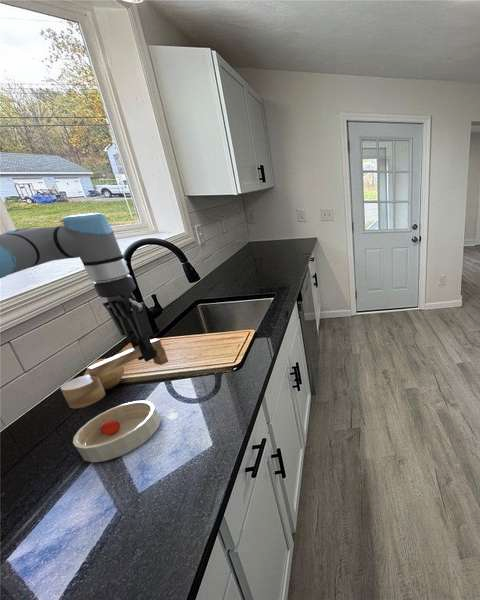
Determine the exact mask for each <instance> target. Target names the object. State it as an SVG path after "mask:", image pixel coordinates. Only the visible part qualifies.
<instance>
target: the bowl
mask: <svg viewBox="0 0 480 600" xmlns="http://www.w3.org/2000/svg"><path fill="white" fill-rule="evenodd" d="M110 420H116V421H118V422H119V424H120V428H119V430H118V431H117V432H116V433H114V434H112V435H104V434H103V433H102V432H101V427H102V425H103V424H104V423H105V422H107V421H110ZM160 425H161V417H160V415H159V412H158V410H157V408H156V405H155V404H154V403H153V402H151V401H149V400H134V401H131V402H130V401H129V402H126V403H122V404H119V405H117V406H115V407H112V408H110V409H107V410H105V411H104V412H101V413H99V414H97V415H96V416H94V417H93V418H92V419H90V420H89V421H88V422H86V423H85V424H84V425H83V426H81V427H80V428H79V429H78V430H77V432H76V433H75V434H74V436H73V440H72V444H73V446H74V447H75V449H76V451H77V452H78V454H79V455H80V457H81V458H82V459H83V460H84V462H88V463H100V462H106V461H109V460H113V459H116V458H119V457H122V456H124V455H126V454H128V453H130V452H132V451H133V450H135V449H137V448H138V447H141V445H143V444H144V443H145V442H146V441H148V440H149V439H150V438H151V437H152V436H154V434H155V433H156V432H157V430H158V429H159V427H160Z"/></svg>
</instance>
